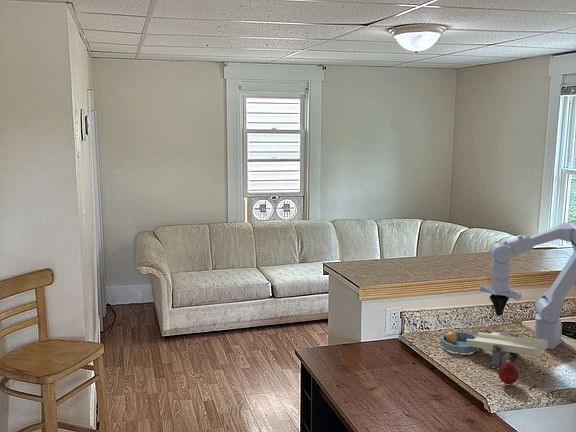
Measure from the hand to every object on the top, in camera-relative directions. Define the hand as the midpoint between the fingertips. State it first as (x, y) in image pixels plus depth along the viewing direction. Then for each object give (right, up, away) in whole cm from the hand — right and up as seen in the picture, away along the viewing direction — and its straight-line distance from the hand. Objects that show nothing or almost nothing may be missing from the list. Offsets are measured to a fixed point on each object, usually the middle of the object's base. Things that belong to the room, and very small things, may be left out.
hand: (499, 314), depth 199 cm
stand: (-2, -13, -12) cm, 18 cm away
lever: (+1, -7, -11) cm, 13 cm away
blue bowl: (-14, -11, +1) cm, 18 cm away
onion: (-7, -17, -26) cm, 32 cm away
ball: (-16, -9, +3) cm, 18 cm away
